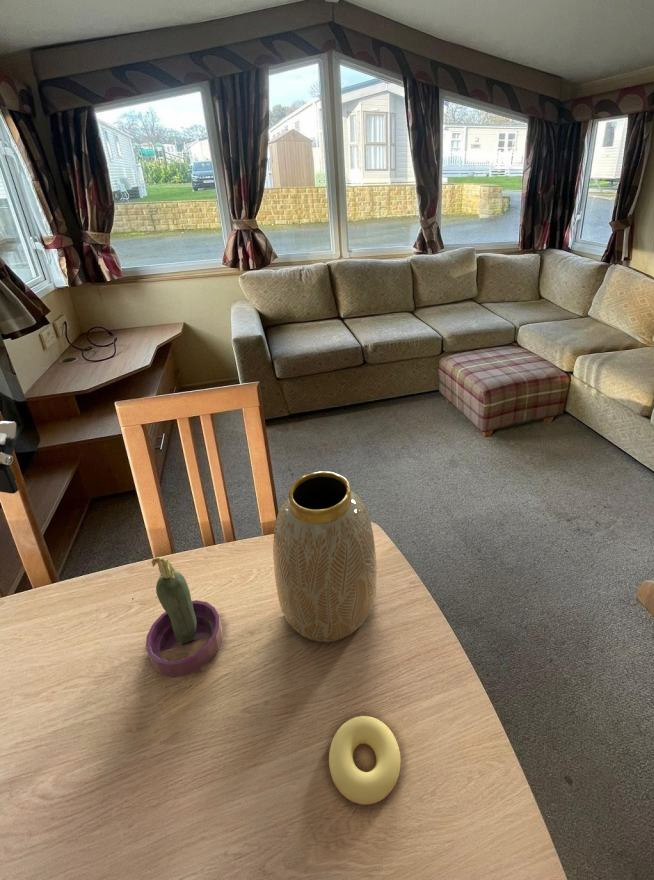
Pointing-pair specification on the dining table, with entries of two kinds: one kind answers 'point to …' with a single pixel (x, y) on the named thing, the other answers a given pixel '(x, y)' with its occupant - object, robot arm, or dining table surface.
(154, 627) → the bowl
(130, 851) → the dining table surface
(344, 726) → the donut
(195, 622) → the vegetable
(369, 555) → the vase
